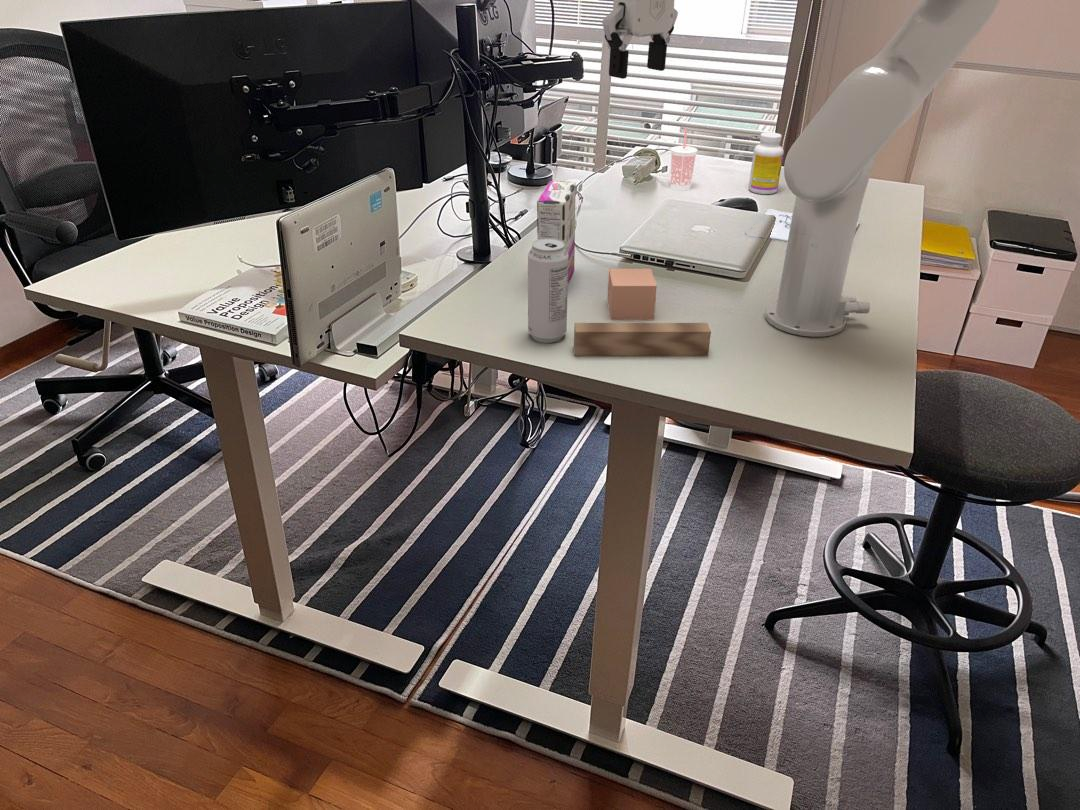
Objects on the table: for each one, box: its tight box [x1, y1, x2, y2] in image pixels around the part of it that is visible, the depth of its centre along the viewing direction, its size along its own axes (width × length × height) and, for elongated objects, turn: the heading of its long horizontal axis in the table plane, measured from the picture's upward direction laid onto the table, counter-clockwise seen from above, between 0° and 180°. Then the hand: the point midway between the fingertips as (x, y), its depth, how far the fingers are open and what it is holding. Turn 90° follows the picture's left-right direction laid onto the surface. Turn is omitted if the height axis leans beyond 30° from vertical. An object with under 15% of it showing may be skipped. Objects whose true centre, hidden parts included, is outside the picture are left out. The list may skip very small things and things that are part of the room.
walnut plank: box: [573, 322, 712, 357], centre depth 124 cm, size 20×3×4 cm, turn 91°
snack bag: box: [764, 208, 861, 243], centre depth 171 cm, size 19×20×2 cm
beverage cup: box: [670, 126, 698, 192], centre depth 191 cm, size 6×6×14 cm
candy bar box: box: [536, 180, 577, 284], centre depth 143 cm, size 11×5×16 cm, turn 168°
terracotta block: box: [606, 268, 658, 320], centre depth 136 cm, size 7×7×6 cm
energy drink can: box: [527, 238, 569, 344], centre depth 125 cm, size 6×6×15 cm
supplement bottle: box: [748, 131, 785, 195], centre depth 190 cm, size 7×7×13 cm
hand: (637, 73), depth 131 cm, fingers open, 9 cm apart
